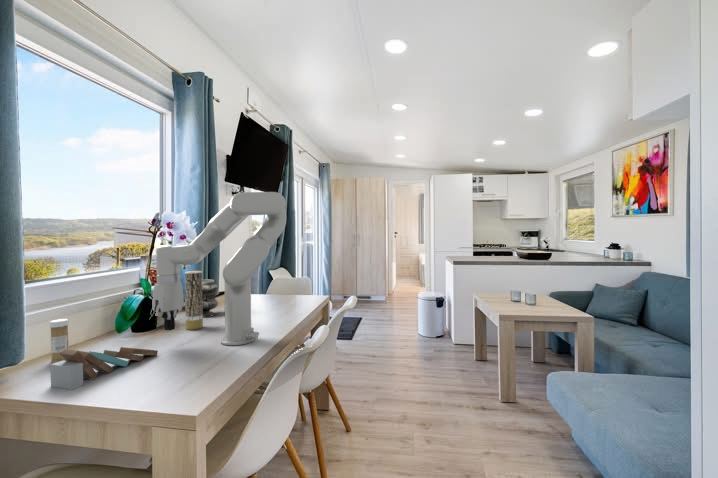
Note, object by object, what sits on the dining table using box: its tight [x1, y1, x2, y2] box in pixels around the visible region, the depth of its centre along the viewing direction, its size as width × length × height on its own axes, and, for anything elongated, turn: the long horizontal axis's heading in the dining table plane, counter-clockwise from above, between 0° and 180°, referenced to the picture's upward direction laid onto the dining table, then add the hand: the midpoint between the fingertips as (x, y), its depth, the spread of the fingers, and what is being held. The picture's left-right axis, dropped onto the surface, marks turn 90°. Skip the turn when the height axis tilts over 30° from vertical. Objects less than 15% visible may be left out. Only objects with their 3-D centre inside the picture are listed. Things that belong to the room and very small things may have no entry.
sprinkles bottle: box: [49, 318, 70, 364], centre depth 114 cm, size 5×5×14 cm
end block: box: [49, 361, 84, 391], centre depth 94 cm, size 8×3×6 cm, turn 72°
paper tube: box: [184, 270, 204, 331], centre depth 152 cm, size 7×7×25 cm
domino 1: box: [60, 348, 99, 380], centre depth 97 cm, size 2×5×10 cm
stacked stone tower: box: [202, 279, 219, 318], centre depth 178 cm, size 12×12×18 cm
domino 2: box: [78, 350, 114, 374], centre depth 101 cm, size 2×5×10 cm
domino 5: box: [118, 346, 159, 356], centre depth 114 cm, size 2×5×10 cm
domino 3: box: [88, 351, 130, 368], centre depth 105 cm, size 2×5×10 cm
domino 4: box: [103, 349, 144, 362], centre depth 109 cm, size 2×5×10 cm
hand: (169, 329), depth 126 cm, fingers closed
